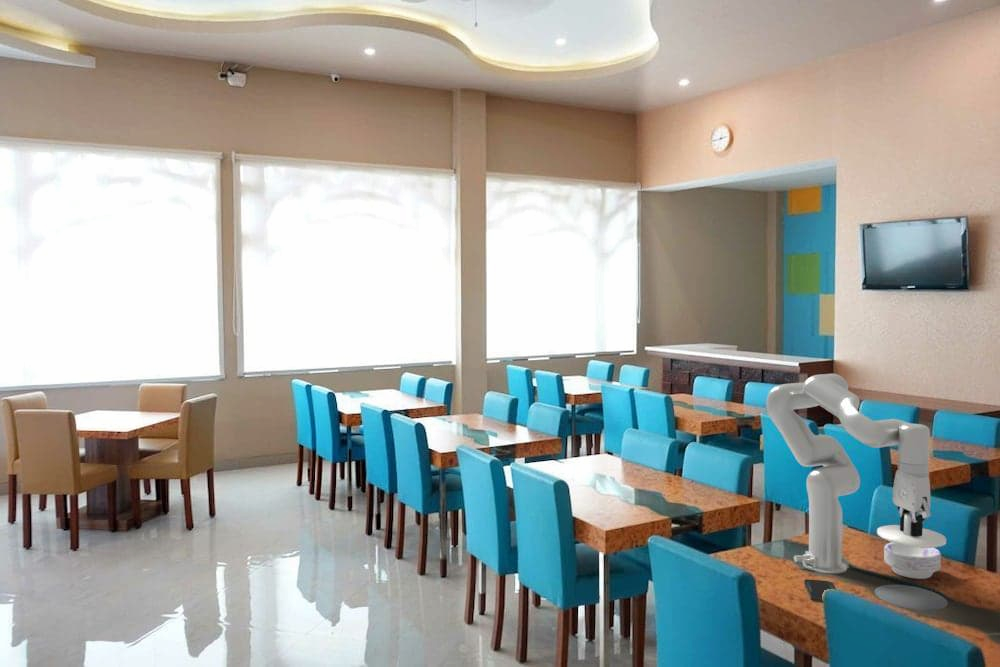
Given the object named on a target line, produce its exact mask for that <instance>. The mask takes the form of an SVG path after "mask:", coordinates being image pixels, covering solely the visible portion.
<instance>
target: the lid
mask: <svg viewBox="0 0 1000 667" xmlns="http://www.w3.org/2000/svg"><path fill="white" fill-rule="evenodd" d="M918 515H919V514H917V516H918ZM911 522H913V520H912V512H911V513H905V514H904V531H900V524H889V525H888V524H887V525H882V526H879V527H878V528H877V529H876V535H877V536H878V537H880V538H881V539H883V540H885V541H887V542H889V543H892V542H893V543H897V544H901V545H906V546H913V547H924V548H932V547H933V548H939V547H943V546H945V545H946V544H947V538H946V536H944V535H943V534H942V533H940V532H936V531H934V530H931V529H927V528H922V536H911V535H910V531H911Z"/></svg>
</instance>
